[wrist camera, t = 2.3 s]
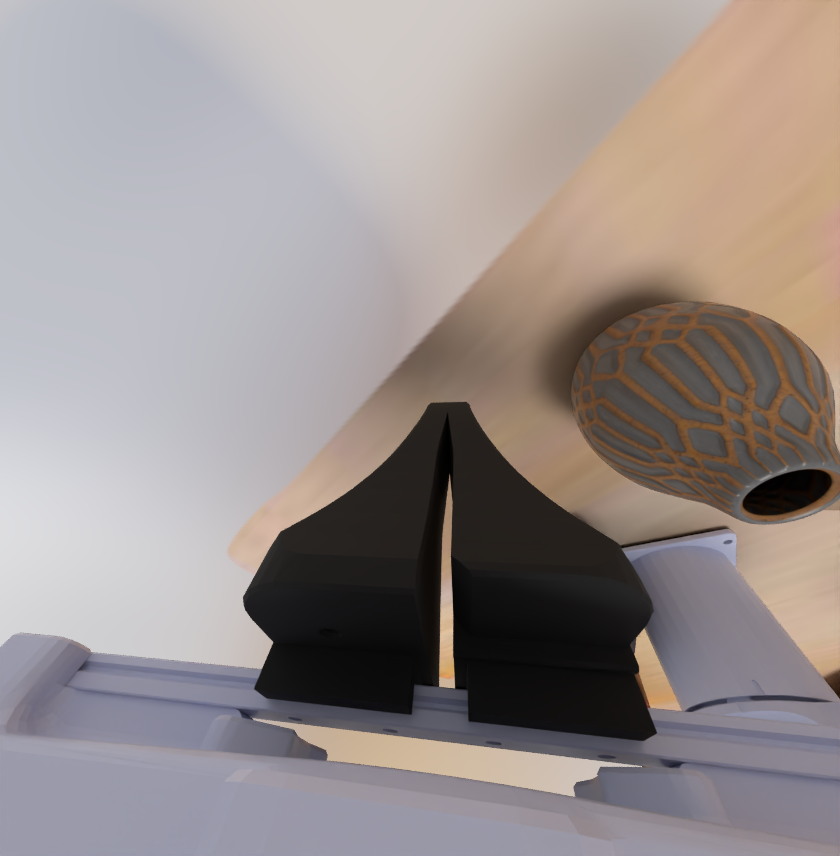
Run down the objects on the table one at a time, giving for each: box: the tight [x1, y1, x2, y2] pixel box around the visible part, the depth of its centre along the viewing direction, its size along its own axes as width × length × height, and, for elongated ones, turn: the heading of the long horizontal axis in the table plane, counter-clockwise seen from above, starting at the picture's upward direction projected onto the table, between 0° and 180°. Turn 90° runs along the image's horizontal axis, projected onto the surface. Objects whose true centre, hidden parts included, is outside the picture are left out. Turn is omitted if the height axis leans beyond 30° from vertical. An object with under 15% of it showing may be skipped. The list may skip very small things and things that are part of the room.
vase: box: [571, 302, 840, 524], centre depth 11 cm, size 7×7×9 cm
